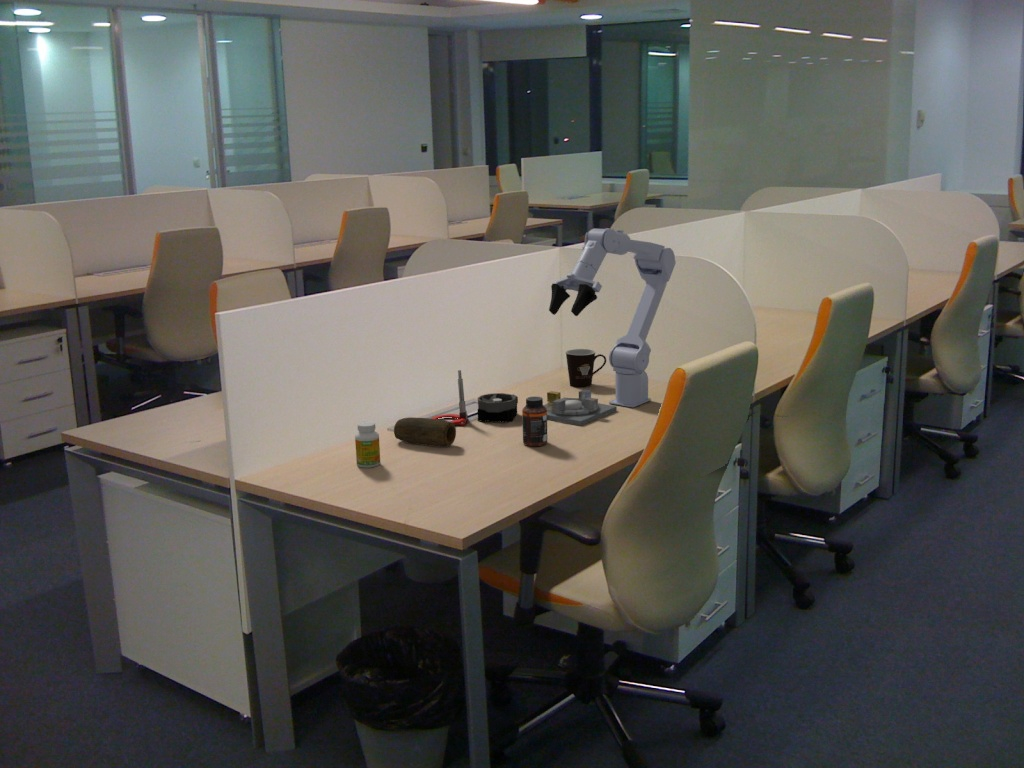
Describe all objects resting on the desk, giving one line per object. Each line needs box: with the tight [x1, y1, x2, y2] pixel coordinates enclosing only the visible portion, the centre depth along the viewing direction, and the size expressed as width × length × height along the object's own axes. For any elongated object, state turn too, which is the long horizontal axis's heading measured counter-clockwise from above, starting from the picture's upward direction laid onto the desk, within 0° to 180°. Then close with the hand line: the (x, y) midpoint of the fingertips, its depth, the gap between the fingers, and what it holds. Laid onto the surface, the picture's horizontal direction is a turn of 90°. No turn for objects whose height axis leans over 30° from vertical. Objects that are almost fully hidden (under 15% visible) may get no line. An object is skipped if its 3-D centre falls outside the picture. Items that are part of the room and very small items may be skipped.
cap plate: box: [543, 396, 618, 427], centre depth 264 cm, size 17×17×3 cm
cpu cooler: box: [477, 392, 519, 423], centre depth 262 cm, size 10×6×10 cm
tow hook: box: [429, 369, 469, 427], centre depth 258 cm, size 9×14×10 cm
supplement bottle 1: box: [354, 420, 381, 469], centre depth 226 cm, size 5×5×10 cm
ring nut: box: [546, 388, 599, 416], centre depth 264 cm, size 15×15×4 cm
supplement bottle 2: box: [521, 396, 549, 448], centre depth 238 cm, size 6×6×11 cm
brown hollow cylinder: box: [393, 416, 457, 447], centre depth 241 cm, size 15×7×7 cm, turn 67°
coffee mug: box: [565, 348, 607, 389], centre depth 292 cm, size 12×9×10 cm
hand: (562, 313), depth 246 cm, fingers open, 7 cm apart
